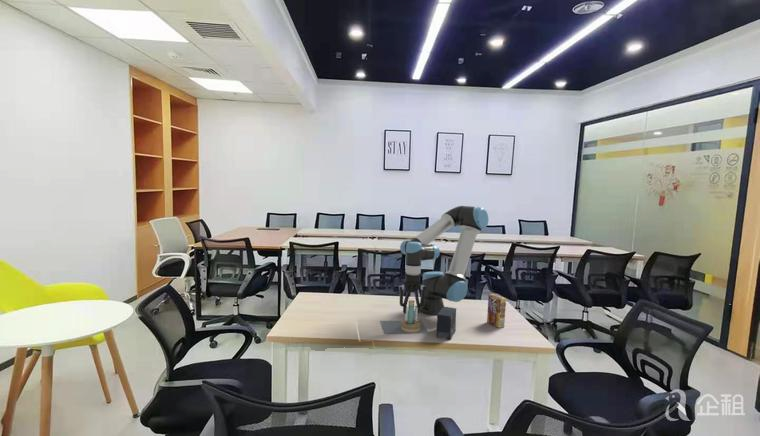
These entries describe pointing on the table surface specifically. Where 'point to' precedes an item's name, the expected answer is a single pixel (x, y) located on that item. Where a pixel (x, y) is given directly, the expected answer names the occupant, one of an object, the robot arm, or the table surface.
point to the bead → (410, 326)
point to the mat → (399, 328)
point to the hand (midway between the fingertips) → (410, 319)
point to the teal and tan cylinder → (411, 312)
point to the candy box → (496, 310)
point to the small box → (446, 323)
